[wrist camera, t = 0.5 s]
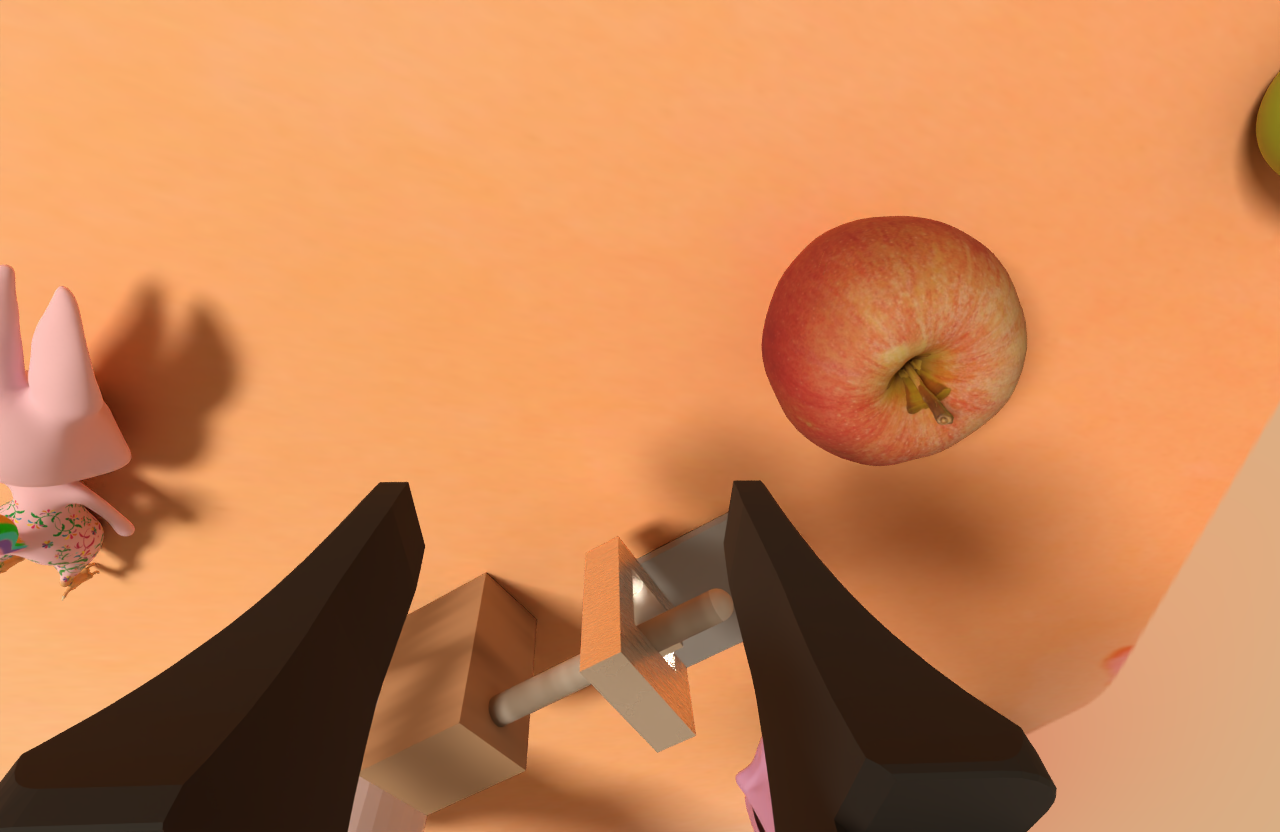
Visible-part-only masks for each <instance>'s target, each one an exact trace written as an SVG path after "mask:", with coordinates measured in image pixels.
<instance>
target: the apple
mask: <svg viewBox="0 0 1280 832" xmlns="http://www.w3.org/2000/svg"><path fill="white" fill-rule="evenodd" d="M1026 350H1027V332H1026V322H1025V318H1024V314H1023V310H1022V307H1021V305H1020V302H1019V299H1018V296H1017V293H1016V290H1015V287H1014V285H1013V283H1012V281H1011V279H1010V277H1009V275H1008V273H1007V271H1006V270H1005V268H1004V267H1003V265H1002V264H1001V262H1000V261H999V260H998V259H997V257H996V256H995V255H994V254H993V253H992V252H991V251H990V250H989V249H988V248H987V247H985V246H984V245H983V244H981V243H980V242H979V241H977V240H976V239H974V238H972V237H971V236H969V235H968V234H966V233H964V232H962V231H960V230H959V229H957V228H955V227H952V226H950V225H947V224H945V223H942V222H939V221H935V220H930V219H926V218H920V217H910V216H889V217H873V218H866V219H860V220H856V221H853V222H849V223H846V224H843V225H840V226H838V227H836V228H833V229H831V230H829V231H827V232H825V233H824V234H822V235H821V236H819V237H817V238H816V239H815V240H814V241H812V242H811V243H810V244H809V245H808V246H807V247H806V248H805V249H804V250H803V251H802V252H801V253H800V254H799V255H798V256H797V258H796V259H795V260H794V261H793V262H792V263H791V265H790V266H789V267H788V268H787V270H786V271H785V272H784V274H783V276H782V277H781V279H780V281H779V283H778V285H777V287H776V289H775V292H774V294H773V297H772V300H771V302H770V306H769V309H768V312H767V316H766V320H765V324H764V329H763V336H762V357H763V362H764V367H765V371H766V374H767V377H768V379H769V382H770V384H771V386H772V388H773V390H774V393H775V395H776V397H777V399H778V401H779V403H780V405H781V407H782V409H783V411H784V413H785V415H786V417H787V418H788V419H789V420H790V422H791V423H792V424H793V425H794V426H795V428H796V429H797V430H798V431H799V432H800V433H802V434H803V435H804V436H805V437H806V438H807V439H809V440H810V441H811V442H813V443H814V444H816V445H817V446H819V447H821V448H822V449H824V450H826V451H828V452H830V453H832V454H834V455H836V456H838V457H840V458H843V459H846V460H850V461H853V462H857V463H860V464H865V465H873V466H885V465H893V464H898V463H902V462H906V461H909V460H913V459H917V458H921V457H926V456H930V455H933V454H936V453H938V452H941V451H943V450H945V449H947V448H949V447H951V446H953V445H954V444H956V443H957V442H959V441H961V440H962V439H964V438H965V437H967V436H968V435H970V434H971V433H973V432H974V431H975V430H977V429H978V428H980V427H981V426H982V425H984V424H985V423H986V422H987V421H989V420H990V419H991V418H992V417H993V416H995V415H996V414H997V413H998V412H999V411H1000V409H1001V408H1002V407H1003V406H1004V405H1005V404H1006V402H1007V401H1008V400H1009V398H1010V396H1011V395H1012V393H1013V391H1014V389H1015V387H1016V385H1017V383H1018V380H1019V377H1020V375H1021V372H1022V369H1023V365H1024V361H1025V356H1026Z"/></svg>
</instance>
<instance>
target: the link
mask: <svg viewBox="0 0 1280 832" xmlns="http://www.w3.org/2000/svg"><path fill="white" fill-rule="evenodd" d="M672 608H674V605H673V604H672V603H671V602H670V600H669V599H668V598H667V597H666V595H665V594H664V593H663V592H662V590H661V589H660V588H659V587H658V585H657V584H656V583H655V582H654V580H653V579H652V578H651V577H650V575H649V574H648V573H647V572H646V570H645V569H644V568H643V567H642V565H641V564H640V563H639V562H638V560H637V559H636V558H635V557H634V555H633V554H632V553H631V551H630V550H629V549H628V548H627V546H626V545H625V544H624V543H623V541H622V540H621V539H620V538H619V536H617V537H615V538H613V539H611V540H609V541H608V542H606V543H604V544H602V545H600V546H598V547H596V548H594V549H592V550H591V551H589V552H587V553H586V556H585V575H584V594H583V613H582V633H581V652H580V671H579V672H580V673H581V674H582V675H583V676H584V677H585V678H586V679H587V680H588V681H589V682H590V683H591V684H592V685H593V686H594V687H595V689H596V690H597V691H598V692H599V693H600V694H601V695H602V696H603V697H604V698H605V699H606V700H607V701H608V702H609V703H610V704H611V705H612V706H613V707H614V708H615V709H616V710H617V711H618V712H619V713H620V714H621V715H622V716H623V717H624V719H625V720H626V721H627V722H628V723H629V724H630V725H631V726H632V727H633V728H634V729H635V730H636V731H637V732H638V733H639V734H640V735H641V736H642V737H643V738H644V739H645V740H646V741H647V742H648V743H649V744H650V745H651V746H652V747H653V748H654V750H655V751H656V752H657V753H658V752H660V751H662V750H664V749H667V748H669V747H671V746H674V745H676V744H678V743H680V742H683V741H685V740H687V739H690V738H692V737H694V736H696V732H695V725H694V718H693V711H692V704H691V697H690V690H689V683H688V676H687V668H686V666H685V665H684V663H683V662H682V661H681V660H680V659H679V657H678V656H677V655H676V654H675V653H674V651H676V650H678V649H680V648H682V647H683V641H682V642H680V643H677V644H675V645H673V646H671V647H669V648H667V649H665V650H663V651H661V652H658V651H657V650H656V648H655V647H654V646H653V645H652V644H651V643H650V641H649V640H648V639H647V638H646V637H645V636H644V634H643V633H642V632H641V631H640V630H639V629H638V627H637V625H639V624H642V623H644V622H646V621H648V620H650V619H652V618H654V617H656V616H658V615H660V614H662V613H664V612H666V611H668V610H670V609H672ZM665 655H666V656H665ZM663 656H664V657H663Z"/></svg>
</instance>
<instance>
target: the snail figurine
mask: <svg viewBox="0 0 1280 832" xmlns="http://www.w3.org/2000/svg"><path fill="white" fill-rule="evenodd" d="M1256 138H1257V143H1258V147H1259V149H1260V152H1261V154H1262V156H1263V158H1264V159H1265V161H1266V162H1267V164H1268V165H1269V166H1270V167H1271V168H1272V169H1273V170H1274V171H1275V172H1276V173H1277V174H1278V175H1280V71H1279V73H1278V74H1277V75H1276V77H1275V78H1274V79H1273V81H1272V82H1271V84H1270V86H1269V87H1268V89H1267V91H1266V93H1265V95H1264V97H1263V99H1262V102H1261V105H1260V108H1259V111H1258V115H1257V121H1256Z"/></svg>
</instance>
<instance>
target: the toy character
mask: <svg viewBox="0 0 1280 832" xmlns="http://www.w3.org/2000/svg"><path fill="white" fill-rule="evenodd" d="M736 782H737V784H738V786H739V787H740V788H741V790H742V791H743V792H744V794H745V795H746V796H745V802H746V807H747V811H748V815H749V818H750V821H751V824H752V826H753V829H754V832H775V828H774V820H773V812H772V804H771V796H770V788H769V781H768V774H767V766H766V759H765V752H764V745H763V738H762V737H761V740H760V743H759V745H758V748H757V751H756V754H755V757H754V759H753V761H752V762H751V764H750V765H749V766H748V767H746V768H745V769H743V770H742V771H740V772H739V773H738V774H737V775H736Z"/></svg>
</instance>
